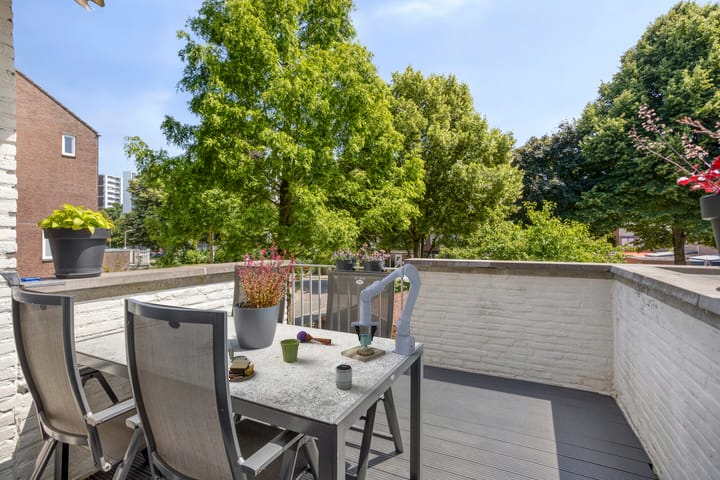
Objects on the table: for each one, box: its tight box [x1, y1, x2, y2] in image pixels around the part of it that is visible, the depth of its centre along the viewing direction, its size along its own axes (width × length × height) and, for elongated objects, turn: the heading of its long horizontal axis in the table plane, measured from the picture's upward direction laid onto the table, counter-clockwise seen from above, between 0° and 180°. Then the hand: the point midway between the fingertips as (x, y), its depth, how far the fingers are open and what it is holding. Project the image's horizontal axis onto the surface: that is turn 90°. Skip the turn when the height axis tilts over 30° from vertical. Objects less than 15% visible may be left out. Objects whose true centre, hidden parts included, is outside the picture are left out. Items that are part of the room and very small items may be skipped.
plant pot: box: [279, 338, 301, 363], centre depth 161 cm, size 9×9×9 cm
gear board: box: [340, 344, 387, 363], centre depth 169 cm, size 15×16×6 cm
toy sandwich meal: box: [228, 359, 256, 382], centre depth 142 cm, size 12×14×5 cm
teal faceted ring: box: [359, 333, 372, 346], centre depth 173 cm, size 6×6×4 cm
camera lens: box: [335, 363, 353, 391], centre depth 132 cm, size 6×6×8 cm
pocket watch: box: [228, 339, 248, 362], centre depth 160 cm, size 8×8×10 cm
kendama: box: [296, 330, 332, 346], centre depth 188 cm, size 6×6×20 cm
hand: (365, 340), depth 173 cm, fingers closed on teal faceted ring, 6 cm apart
